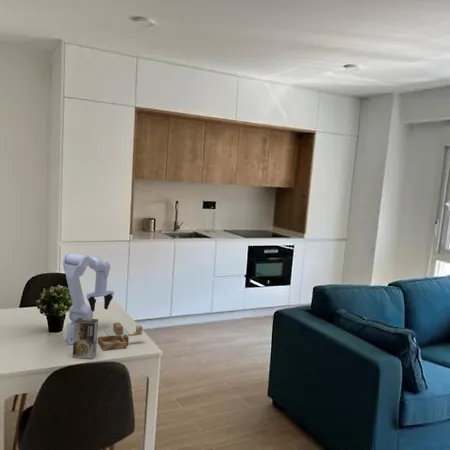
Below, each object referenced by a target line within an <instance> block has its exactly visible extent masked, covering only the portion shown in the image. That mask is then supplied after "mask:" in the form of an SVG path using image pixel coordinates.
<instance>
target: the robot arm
mask: <svg viewBox="0 0 450 450" xmlns="http://www.w3.org/2000/svg"><path fill="white" fill-rule="evenodd" d="M62 266H63V270H64V273H65V277H66V278H65V279H66V282H67V287H68V290H69V295H70V299H71V304H72V305H71V306H70V307H69V309H68V312H69V313H68V318H69V321H71V322H70V323H67V325H66V337H65V338H66V341H67V343H68V345H73V343H74V323H75V322H76V320H77V319H78V318H87V319H94V318H93V317H94V313H93V312H95V308H96V302H97V299H96V298H99V297H103V299H104V300H103V301H104V303H103V307H104V309H105V310H108V309H109V306H110V303H111V301H112V300H113V299H114V295H115V291H114V290H107V287H108V286H107V285H108V276H109V275H110V270H111V264H110V263H109V261H104V260H103V258H101V259H100V257H99V256H94V257H90V256H89V255H85V254H78V253H72V252H67V253H66V254H65V256H64V258H63V260H62ZM88 267H89V268H90V269H92V270H93V271H94V272H95V285H94V291H93V292H90V293H87V294H86V299H87V301H88V303H89V305H88V304H87V303H86V301H85V299H84V298H85V297H84V294H83V290H82V285H81V278H80V277H81V276H83V275H84V274H85V272H86V269H87V268H88Z"/></svg>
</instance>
